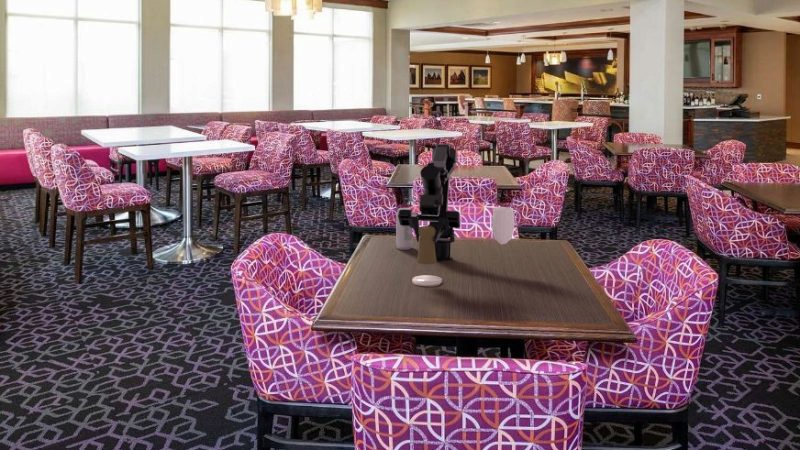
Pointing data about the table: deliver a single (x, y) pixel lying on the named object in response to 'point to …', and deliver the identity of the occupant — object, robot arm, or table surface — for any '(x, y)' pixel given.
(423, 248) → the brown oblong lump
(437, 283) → the coaster
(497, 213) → the cup
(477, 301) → the table surface
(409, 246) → the energy drink can
